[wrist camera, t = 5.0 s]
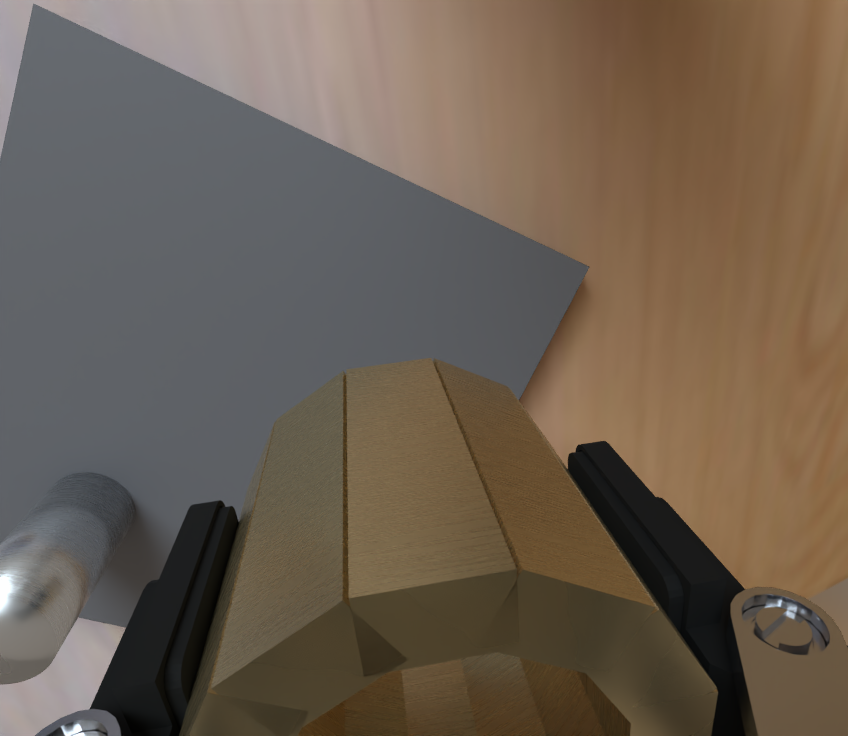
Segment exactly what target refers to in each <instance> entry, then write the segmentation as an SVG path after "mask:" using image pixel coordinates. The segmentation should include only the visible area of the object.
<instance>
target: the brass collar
mask: <svg viewBox="0 0 848 736" xmlns="http://www.w3.org/2000/svg"><path fill="white" fill-rule="evenodd" d="M717 696H718V691H717V687H716V686H715V684H714V683H713V681H712V680H711V678H710V677H709V675H708V674H707V672H706V671H705V669H704V668H703V667H702V665H701V664H700V662H699V661H698V659H697V658H696V656H695V655H694V653H693V652H692V650H691V649H690V648H689V646H688V645H687V643H686V642H685V640H684V639H683V637H682V636H681V634H680V633H679V631H678V630H677V629H676V627H675V626H674V624H673V623H672V621H671V620H670V618H669V617H668V616H667V614H666V613H665V611H664V610H663V608H662V607H661V605H660V604H659V602H658V601H657V599H656V598H655V597H654V595H653V594H652V592H651V591H650V589H649V588H648V586H647V585H646V583H645V582H644V580H643V579H642V578H641V576H640V575H639V573H638V572H637V570H636V569H635V567H634V566H633V564H632V563H631V561H630V560H629V559H628V557H627V556H626V554H625V553H624V551H623V550H622V548H621V547H620V545H619V544H618V542H617V541H616V540H615V538H614V537H613V535H612V534H611V532H610V531H609V529H608V528H607V526H606V525H605V523H604V522H603V521H602V519H601V518H600V516H599V515H598V513H597V512H596V510H595V509H594V507H593V506H592V504H591V503H590V502H589V500H588V499H587V497H586V496H585V494H584V493H583V491H582V490H581V488H580V487H579V485H578V484H577V483H576V481H575V480H574V478H573V477H572V475H571V474H570V472H569V471H568V469H567V468H566V466H565V465H564V463H563V462H562V460H561V459H560V458H559V456H558V455H557V453H556V452H555V450H554V449H553V447H552V446H551V444H550V443H549V442H548V440H547V439H546V437H545V436H544V435H543V433H542V432H541V430H540V429H539V428H538V426H537V425H536V424H535V422H534V421H533V419H532V418H531V417H530V415H529V414H528V413H527V411H526V410H525V408H524V407H523V406H522V404H521V403H520V401H519V400H518V399H517V397H516V396H515V395H514V393H513V392H512V390H511V389H510V388H508V386H506V385H503V384H500V383H498V382H495V381H493V380H490V379H487V378H485V377H482V376H480V375H477V374H474V373H472V372H469V371H467V370H464V369H461V368H459V367H456V366H454V365H451V364H448V363H446V362H443V361H441V360H438V359H435V358H434V360H433V361H432V359H431V358H426V359H418V360H411V361H404V362H397V363H389V364H382V365H375V366H367V367H360V368H353V369H346V373H345V372H344V371H342V372H341V373H339V374H338V375H337V376H335V377H334V378H332V379H331V380H330V381H328V382H327V383H326V384H324V385H323V386H322V387H320V388H319V389H317V390H316V391H315V392H313V393H312V394H311V395H309V396H308V397H306V398H305V399H304V400H302V401H301V402H300V403H298V404H297V405H295V406H294V407H293V408H291V409H290V410H289V411H287V412H286V413H285V414H283V415H282V416H280V417H279V418H278V419H276V422H274V424H273V427H272V429H271V432H270V434H269V437H268V439H267V442H266V444H265V447H264V449H263V452H262V454H261V457H260V459H259V462H258V464H257V467H256V469H255V472H254V474H253V477H252V479H251V482H250V484H249V487H248V490H247V493H246V497H245V500H244V504H243V508H242V511H241V515H240V518H239V523H238V527H237V530H236V534H235V537H234V541H233V545H232V548H231V552H230V555H229V559H228V563H227V566H226V570H225V574H224V577H223V581H222V584H221V588H220V592H219V595H218V599H217V602H216V606H215V610H214V613H213V617H212V620H211V624H210V628H209V631H208V635H207V638H206V642H205V646H204V649H203V653H202V656H201V660H200V664H199V667H198V671H197V675H196V678H195V682H194V685H193V689H192V693H191V696H190V700H189V703H188V706H187V709H186V712H185V716H184V720H183V723H182V727H181V730H180V734H179V736H711V733H712V727H713V721H714V715H715V708H716V702H717Z"/></svg>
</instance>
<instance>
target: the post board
mask: <svg viewBox="0 0 848 736" xmlns="http://www.w3.org/2000/svg"><path fill="white" fill-rule="evenodd" d="M588 269H589V266H587V265H584V264H582V263H580V262H578V261H576V260H574V259H572V258H570V257H568V256H565V255H563V254H561V253H559V252H557V251H555V250H553V249H551V248H549V247H546V246H544V245H542V244H540V243H538V242H536V241H534V240H532V239H530V238H527V237H525V236H523V235H521V234H519V233H517V232H515V231H513V230H511V229H508V228H506V227H504V226H502V225H500V224H498V223H496V222H494V221H492V220H489V219H487V218H485V217H483V216H481V215H479V214H477V213H475V212H473V211H470V210H468V209H466V208H464V207H462V206H460V205H458V204H456V203H454V202H451V201H449V200H447V199H445V198H443V197H441V196H439V195H437V194H435V193H432V192H430V191H428V190H426V189H424V188H422V187H420V186H418V185H416V184H413V183H411V182H409V181H407V180H405V179H403V178H401V177H399V176H397V175H394V174H392V173H390V172H388V171H386V170H384V169H382V168H380V167H378V166H375V165H373V164H371V163H369V162H367V161H365V160H363V159H361V158H359V157H356V156H354V155H352V154H350V153H348V152H346V151H344V150H342V149H340V148H337V147H335V146H333V145H331V144H329V143H327V142H325V141H323V140H321V139H318V138H316V137H314V136H312V135H310V134H308V133H306V132H304V131H302V130H299V129H297V128H295V127H293V126H291V125H289V124H287V123H285V122H283V121H280V120H278V119H276V118H274V117H272V116H270V115H268V114H266V113H264V112H261V111H259V110H257V109H255V108H253V107H251V106H249V105H247V104H245V103H242V102H240V101H238V100H236V99H234V98H232V97H230V96H228V95H226V94H223V93H221V92H219V91H217V90H215V89H213V88H211V87H209V86H206V85H204V84H202V83H200V82H198V81H196V80H194V79H192V78H190V77H187V76H185V75H183V74H181V73H179V72H177V71H175V70H173V69H171V68H168V67H166V66H164V65H162V64H160V63H158V62H156V61H154V60H152V59H149V58H147V57H145V56H143V55H141V54H139V53H137V52H135V51H133V50H130V49H128V48H126V47H124V46H122V45H120V44H118V43H116V42H114V41H111V40H109V39H107V38H105V37H103V36H101V35H99V34H97V33H95V32H92V31H90V30H88V29H86V28H84V27H82V26H80V25H78V24H76V23H73V22H71V21H69V20H67V19H65V18H63V17H61V16H59V15H57V14H54V13H52V12H50V11H48V10H46V9H44V8H42V7H40V6H38V5H35V4H33V8H32V13H31V18H30V22H29V27H28V32H27V37H26V41H25V46H24V51H23V55H22V60H21V65H20V69H19V74H18V79H17V84H16V88H15V93H14V98H13V102H12V107H11V112H10V116H9V121H8V126H7V131H6V135H5V140H4V145H3V149H2V154H1V159H0V684H12V683H17V682H22V681H25V680H28V679H30V678H33V677H35V676H37V675H38V674H40V673H41V672H43V671H44V670H45V669H46V668H47V667H48V666H49V665H50V664H51V662H52V661H53V659H54V658H55V656H56V654H57V652H58V651H59V649H60V647H61V646H62V644H63V642H64V640H65V639H66V637H67V635H68V634H69V632H70V630H71V628H72V627H73V625H74V623H75V622H76V620H77V618H78V617H79V618H84V619H89V620H93V621H98V622H103V623H107V624H112V625H117V626H121V627H127V625H128V623H129V621H130V618H131V616H132V614H133V612H134V609H135V607H136V605H137V603H138V600H139V598H140V596H141V594H142V592H143V590H144V588H145V586H146V585H147V583H149V582H150V581H152V580H158V579H159V578H160V575H161V573H162V570H163V568H164V566H165V563H166V561H167V559H168V556H169V554H170V552H171V549H172V547H173V545H174V542H175V540H176V537H177V535H178V533H179V530H180V528H181V526H182V523H183V521H184V519H185V516H186V514H187V511H188V509H189V507H190V506H191V505H193V504H200V503H206V502H213V501H219V500H221V501H223V503H224V504H225V507H228V506H233V507H234V509H235V511H236V514H237V518H238V522H239V518H240V515H241V511H242V508H243V504H244V500H245V497H246V493H247V490H248V487H249V484H250V482H251V479H252V477H253V474H254V472H255V469H256V467H257V464H258V462H259V459H260V457H261V454H262V452H263V449H264V447H265V444H266V442H267V439H268V437H269V434H270V432H271V429H272V427H273V424H274V422H276V419H278V418H279V417H280V416H282V415H283V414H285V413H286V412H287V411H289V410H290V409H291V408H293V407H294V406H295V405H297V404H298V403H300V402H301V401H302V400H304V399H305V398H306V397H308V396H309V395H311V394H312V393H313V392H315V391H316V390H317V389H319V388H320V387H322V386H323V385H324V384H326V383H327V382H328V381H330V380H331V379H332V378H334V377H335V376H337V375H338V374H339V373H341V372H342V371H344V372H345V373H346V369H353V368H360V367H367V366H375V365H382V364H389V363H397V362H404V361H411V360H418V359H426V358H431V359H432V361H433V360H434V358H435V359H438V360H441V361H443V362H446V363H448V364H451V365H454V366H456V367H459V368H461V369H464V370H467V371H469V372H472V373H474V374H477V375H480V376H482V377H485V378H487V379H490V380H493V381H495V382H498V383H500V384H503V385H506V386H508V388H510V389H511V390H512V392H513V393H514V395H515V396H516V397H517V399H518V400H519V399H520V397H521V396H522V394H523V392H524V390H525V388H526V386H527V384H528V382H529V380H530V379H531V377H532V375H533V373H534V371H535V369H536V367H537V365H538V363H539V361H540V360H541V358H542V356H543V354H544V352H545V350H546V348H547V346H548V344H549V343H550V341H551V339H552V337H553V335H554V333H555V331H556V329H557V327H558V326H559V324H560V322H561V320H562V318H563V316H564V314H565V312H566V310H567V309H568V307H569V305H570V303H571V301H572V299H573V297H574V295H575V293H576V292H577V290H578V288H579V286H580V284H581V282H582V280H583V278H584V276H585V274H586V273H587V271H588Z"/></svg>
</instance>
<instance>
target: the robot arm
mask: <svg viewBox="0 0 848 736" xmlns="http://www.w3.org/2000/svg"><path fill="white" fill-rule="evenodd" d="M568 471H569V472H570V474H571V475H572V477H573V478H574V480H575V481H576V483H577V484H578V485H579V487H580V488H581V490H582V491H583V493H584V494H585V496H586V497H587V499H588V500H589V502H590V503H591V504H592V506H593V507H594V509H595V510H596V512H597V513H598V515H599V516H600V518H601V519H602V521H603V522H604V523H605V525H606V526H607V528H608V529H609V531H610V532H611V534H612V535H613V537H614V538H615V540H616V541H617V542H618V544H619V545H620V547H621V548H622V550H623V551H624V553H625V554H626V556H627V557H628V559H629V560H630V561H631V563H632V564H633V566H634V567H635V569H636V570H637V572H638V573H639V575H640V576H641V578H642V579H643V580H644V582H645V583H646V585H647V586H648V588H649V589H650V591H651V592H652V594H653V595H654V597H655V598H656V599H657V601H658V602H659V604H660V605H661V607H662V608H663V610H664V611H665V613H666V614H667V616H668V617H669V618H670V620H671V621H672V623H673V624H674V626H675V627H676V629H677V630H678V631H679V633H680V634H681V636H682V637H683V639H684V640H685V642H686V643H687V645H688V646H689V648H690V649H691V650H692V652H693V653H694V655H695V656H696V658H697V659H698V661H699V662H700V664H701V665H702V667H703V668H704V669H705V671H706V672H707V674H708V675H709V677H710V678H711V680H712V681H713V683H714V684H715V686H716V687H717V691H718V696H717V702H716V708H715V715H714V721H713V727H712V733H711V736H848V646H847V645H846V642H845V640H844V638H843V635H842V633H841V631H840V630H839V628H838V626H837V625H836V623H835V622H834V621H833V619H832V618H831V617H830V616H829V615H828V614H827V613H826V612H825V611H824V610H823V609H821V608H820V607H819V606H817V605H815V604H814V603H812V602H811V601H809V600H808V599H806V598H804V597H801V596H799V595H797V594H794V593H792V592H790V591H786V590H781V589H777V588H773V587H755V588H750V589H744V588H743V587H742V585H741V584H740V583H739V582H738V581H737V580H736V579H735V578H734V577H733V575H732V574H731V573H730V572H729V571H728V570H727V569H726V568H725V566H724V565H723V564H722V563H721V562H720V561H719V560H718V559H717V558H716V556H715V555H714V554H713V553H712V552H711V551H710V550H709V549H708V548H707V546H706V545H705V544H704V543H703V542H702V541H701V540H700V539H699V537H698V536H697V535H696V534H695V533H694V532H693V531H692V530H691V529H690V527H689V526H688V525H687V524H686V523H685V522H684V521H683V520H682V519H681V517H680V516H679V515H678V514H677V513H676V512H675V511H674V510H673V508H672V507H671V506H670V505H669V504H668V503H667V502H666V501H665V500H663V499H662V498H659V497H655V496H654V495H653V494H652V493H651V491H650V490H649V489H648V488H647V487H646V486H645V485H644V483H643V482H642V481H641V480H640V479H639V478H638V477H637V475H636V474H635V473H634V472H633V471H632V470H631V469H630V467H629V466H628V465H627V464H626V463H625V462H624V461H623V460H622V458H621V457H620V456H619V455H618V454H617V453H616V452H615V450H614V449H613V448H612V447H611V446H610V445H609V444H608V443H607V442H606V441H600V442H594V443H587V444H581V445H578V446H577V448H576V452H575V453H570V454H569V457H568ZM238 523H239V522H238V518H237V514H236V511H235V509H234V507H233V506H228V507H225V504H224V503H223V501H221V500H219V501H213V502H206V503H200V504H193V505H191V506H190V507H189V509H188V511H187V514H186V516H185V519H184V521H183V523H182V526H181V528H180V530H179V533H178V535H177V537H176V540H175V542H174V545H173V547H172V549H171V552H170V554H169V556H168V559H167V561H166V563H165V566H164V568H163V570H162V573H161V575H160V578H159V579H158V580H152V581H150V582H149V583H147V585H146V586H145V588H144V590H143V592H142V594H141V596H140V598H139V600H138V603H137V605H136V607H135V609H134V612H133V614H132V616H131V618H130V621H129V623H128V625H127V627H126V629H125V632H124V634H123V636H122V638H121V641H120V643H119V645H118V647H117V650H116V652H115V654H114V656H113V658H112V661H111V663H110V665H109V667H108V670H107V672H106V674H105V676H104V679H103V681H102V683H101V685H100V687H99V690H98V692H97V694H96V696H95V699H94V701H93V703H92V705H91V708H90V709H89V710H83V711H77V712H75V713H72V714H70V715H67V716H65V717H62V718H60V719H58V720H57V721H55V722H53V723H52V724H50V725H49V726H47V727H45V728H44V729H42V730H41V731H40V732H39V733H38V734H36V735H35V736H179V734H180V730H181V727H182V723H183V720H184V716H185V712H186V709H187V706H188V703H189V700H190V696H191V693H192V689H193V685H194V682H195V678H196V675H197V671H198V667H199V664H200V660H201V656H202V653H203V649H204V646H205V642H206V638H207V635H208V631H209V628H210V624H211V620H212V617H213V613H214V610H215V606H216V602H217V599H218V595H219V592H220V588H221V584H222V581H223V577H224V574H225V570H226V566H227V563H228V559H229V555H230V552H231V548H232V545H233V541H234V537H235V534H236V530H237V527H238Z"/></svg>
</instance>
